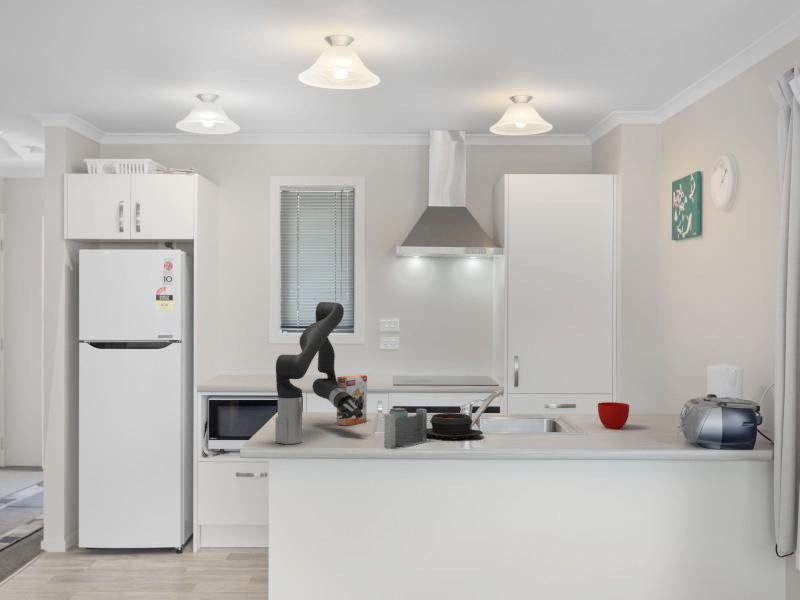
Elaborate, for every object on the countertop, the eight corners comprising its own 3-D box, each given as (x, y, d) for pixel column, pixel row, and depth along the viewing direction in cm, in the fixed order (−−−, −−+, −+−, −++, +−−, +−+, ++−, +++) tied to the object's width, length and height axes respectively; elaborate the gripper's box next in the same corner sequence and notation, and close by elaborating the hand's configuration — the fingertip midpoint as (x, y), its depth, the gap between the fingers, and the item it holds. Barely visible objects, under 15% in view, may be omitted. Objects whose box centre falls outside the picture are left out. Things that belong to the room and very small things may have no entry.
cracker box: (346, 426, 325) (346, 377, 325) (336, 425, 329) (336, 376, 328) (367, 422, 336) (367, 374, 336) (357, 420, 340) (357, 374, 340)
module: (398, 444, 286) (399, 410, 286) (389, 442, 289) (389, 409, 289) (407, 442, 290) (407, 408, 290) (397, 440, 293) (397, 407, 293)
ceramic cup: (624, 424, 333) (624, 401, 333) (632, 430, 317) (632, 406, 317) (593, 423, 335) (594, 400, 335) (600, 430, 318) (600, 406, 318)
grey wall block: (395, 449, 277) (395, 416, 277) (384, 447, 280) (384, 414, 280) (431, 441, 292) (431, 409, 292) (420, 439, 296) (420, 408, 296)
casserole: (483, 433, 309) (483, 413, 309) (481, 442, 291) (481, 420, 291) (422, 431, 313) (422, 411, 313) (416, 440, 295) (416, 418, 295)
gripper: (324, 402, 307) (342, 418, 293) (350, 383, 311) (369, 398, 297) (332, 416, 311) (351, 432, 296) (358, 397, 315) (377, 412, 300)
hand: (360, 415), depth 297 cm, fingers closed
